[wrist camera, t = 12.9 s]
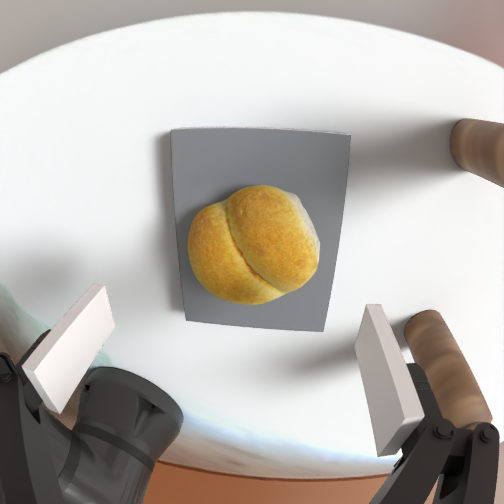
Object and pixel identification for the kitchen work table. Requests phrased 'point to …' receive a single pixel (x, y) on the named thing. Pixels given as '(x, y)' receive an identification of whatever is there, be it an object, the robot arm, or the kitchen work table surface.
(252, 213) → the bread roll
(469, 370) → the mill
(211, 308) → the slate board
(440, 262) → the kitchen work table surface
